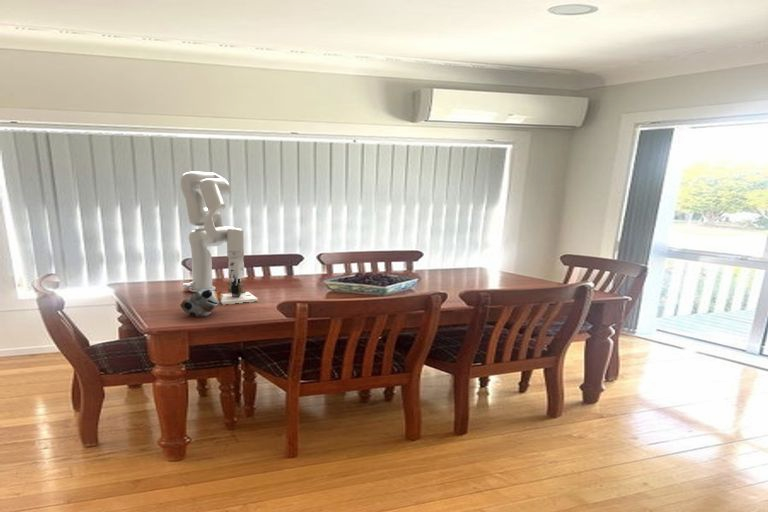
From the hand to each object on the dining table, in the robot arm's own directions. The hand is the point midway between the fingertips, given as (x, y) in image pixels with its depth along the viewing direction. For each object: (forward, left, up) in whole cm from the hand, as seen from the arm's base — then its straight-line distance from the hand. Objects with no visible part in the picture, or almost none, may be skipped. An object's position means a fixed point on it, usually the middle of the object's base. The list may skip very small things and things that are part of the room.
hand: (236, 292), depth 242 cm
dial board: (0, 0, -4) cm, 4 cm away
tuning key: (+2, +2, -2) cm, 4 cm away
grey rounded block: (-19, -20, -4) cm, 28 cm away
